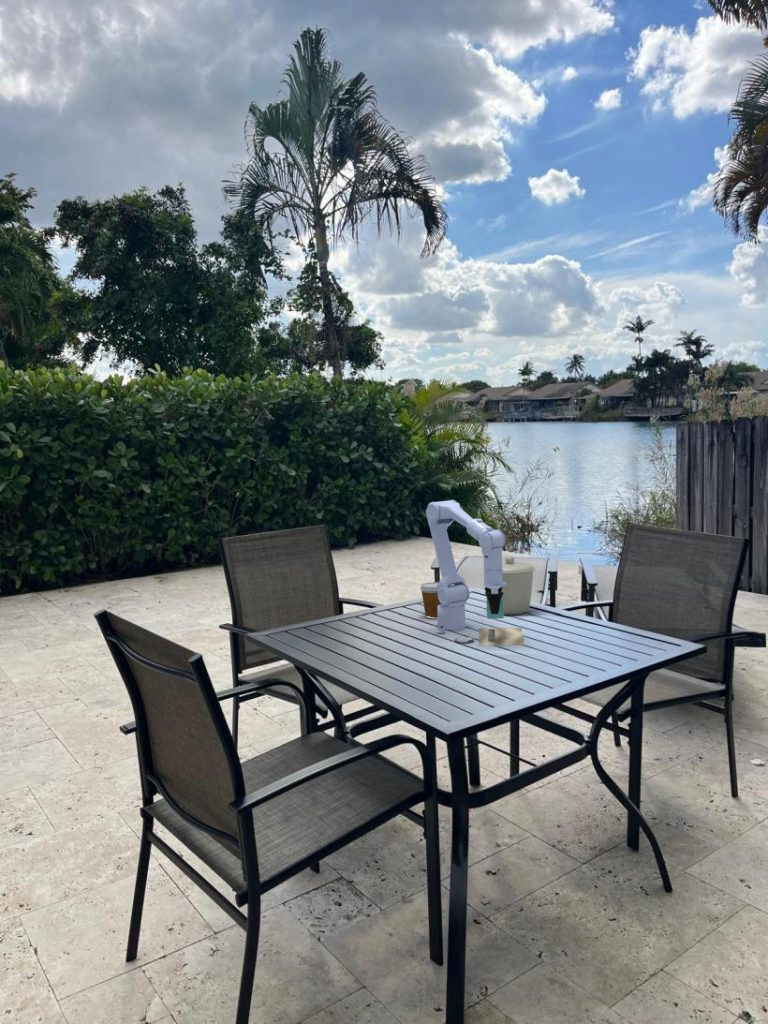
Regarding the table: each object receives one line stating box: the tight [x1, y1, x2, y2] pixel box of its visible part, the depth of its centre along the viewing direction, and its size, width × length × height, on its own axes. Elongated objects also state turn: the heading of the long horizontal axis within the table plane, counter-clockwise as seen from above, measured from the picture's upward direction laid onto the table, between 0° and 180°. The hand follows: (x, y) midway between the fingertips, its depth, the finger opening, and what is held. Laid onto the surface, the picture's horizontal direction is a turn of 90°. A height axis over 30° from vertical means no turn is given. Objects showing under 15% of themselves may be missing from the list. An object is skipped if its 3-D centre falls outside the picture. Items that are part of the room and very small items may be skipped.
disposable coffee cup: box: [420, 581, 442, 617], centre depth 266 cm, size 10×10×12 cm
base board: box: [478, 627, 526, 646], centre depth 232 cm, size 14×20×5 cm
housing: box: [485, 595, 505, 620], centre depth 229 cm, size 5×5×6 cm
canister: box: [501, 554, 536, 616], centre depth 268 cm, size 18×18×21 cm
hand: (494, 611), depth 229 cm, fingers closed on housing, 5 cm apart
